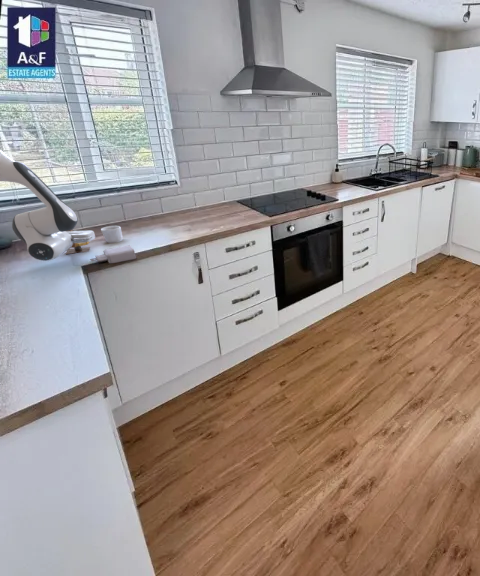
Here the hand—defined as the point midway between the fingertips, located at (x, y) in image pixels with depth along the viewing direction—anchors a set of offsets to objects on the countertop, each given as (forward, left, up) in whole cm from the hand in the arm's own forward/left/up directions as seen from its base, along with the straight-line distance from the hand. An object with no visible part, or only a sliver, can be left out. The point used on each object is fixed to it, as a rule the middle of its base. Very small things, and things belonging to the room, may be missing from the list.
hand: (70, 232), depth 158 cm
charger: (+14, -17, -10) cm, 24 cm away
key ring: (+1, +3, -6) cm, 7 cm away
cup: (+14, +15, -10) cm, 22 cm away
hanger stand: (+1, +4, -10) cm, 11 cm away
